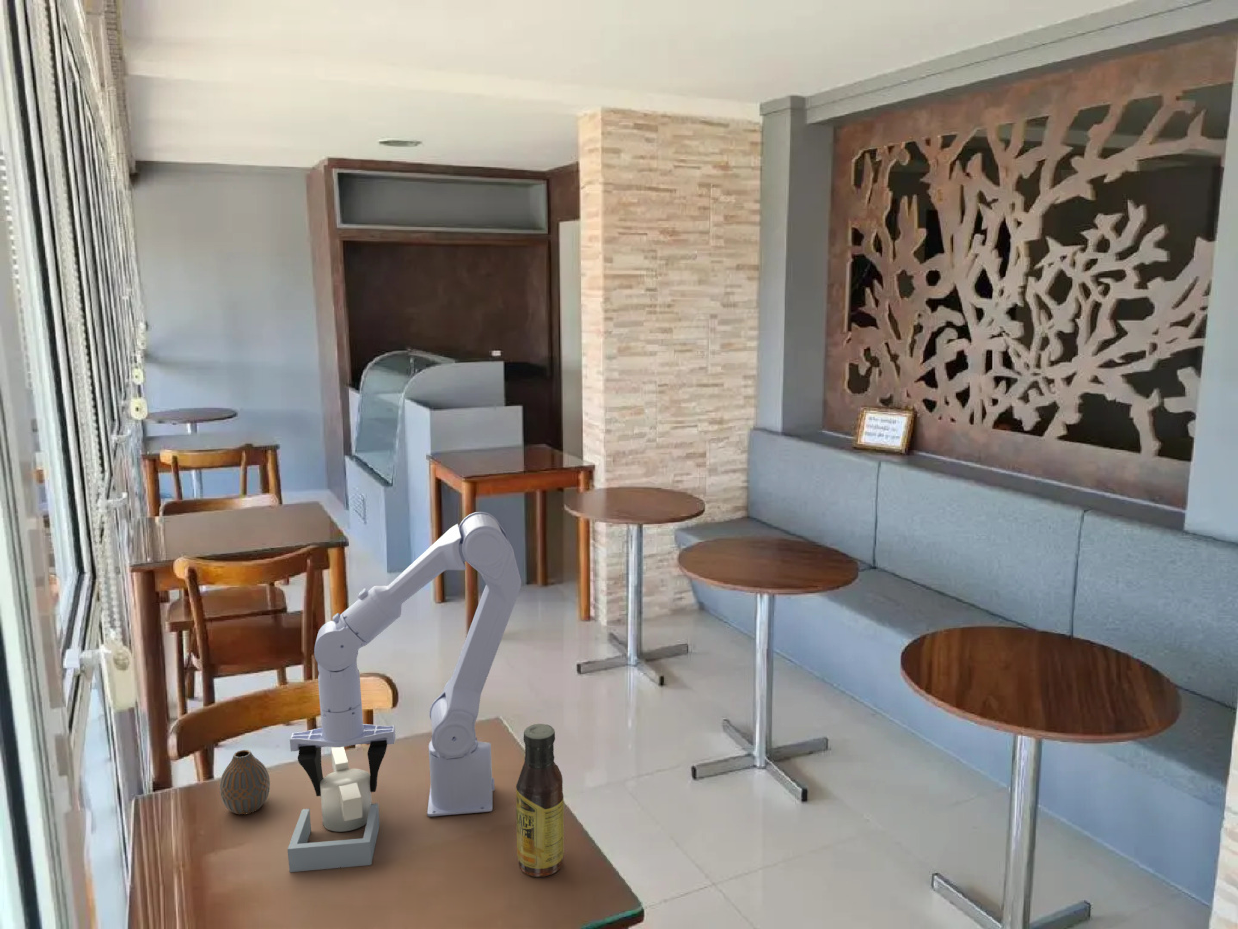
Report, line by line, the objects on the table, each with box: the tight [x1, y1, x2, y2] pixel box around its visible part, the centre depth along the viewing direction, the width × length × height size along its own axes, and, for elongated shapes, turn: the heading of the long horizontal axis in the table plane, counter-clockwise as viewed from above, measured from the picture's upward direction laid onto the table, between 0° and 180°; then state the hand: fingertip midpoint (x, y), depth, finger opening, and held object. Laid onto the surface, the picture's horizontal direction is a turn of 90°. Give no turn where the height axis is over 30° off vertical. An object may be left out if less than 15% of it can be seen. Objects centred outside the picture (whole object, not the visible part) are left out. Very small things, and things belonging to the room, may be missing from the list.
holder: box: [287, 802, 380, 873], centre depth 128 cm, size 11×10×3 cm
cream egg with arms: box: [320, 747, 373, 833], centre depth 135 cm, size 17×7×7 cm, turn 23°
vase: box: [219, 749, 271, 815], centre depth 138 cm, size 7×7×9 cm
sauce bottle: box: [515, 723, 565, 878], centre depth 122 cm, size 6×6×20 cm
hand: (347, 790), depth 135 cm, fingers open, 7 cm apart
